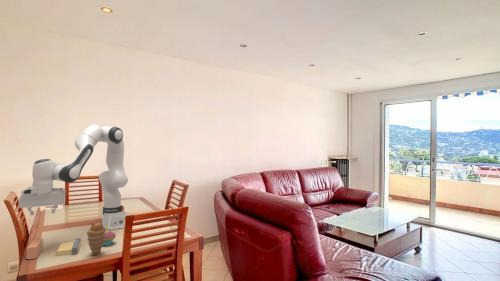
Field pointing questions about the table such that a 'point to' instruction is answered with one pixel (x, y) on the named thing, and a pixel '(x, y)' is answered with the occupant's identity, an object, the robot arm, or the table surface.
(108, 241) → the cupcake
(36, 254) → the block
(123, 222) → the robot arm
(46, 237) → the table surface
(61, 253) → the yellow slab with bar
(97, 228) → the cat ice cream
